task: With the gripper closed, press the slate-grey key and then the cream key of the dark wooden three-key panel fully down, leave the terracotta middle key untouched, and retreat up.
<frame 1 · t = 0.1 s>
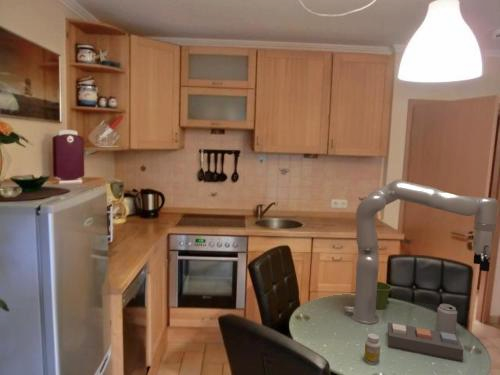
hand: (480, 267, 146), 31 cm above the table, fingers open, 9 cm apart
slate key: (448, 340, 137), point 5 cm above the table, slide at 0.0 cm
key panel: (422, 346, 141), on the table
supplement bottle: (371, 361, 131), on the table
cream key: (398, 331, 144), point 5 cm above the table, slide at 0.0 cm
terracotta key: (423, 336, 140), point 5 cm above the table, slide at 0.0 cm
plant pot: (378, 307, 178), on the table
can: (445, 332, 153), on the table
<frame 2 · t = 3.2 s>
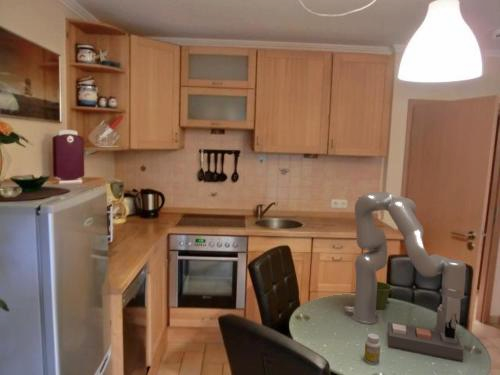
hand: (449, 336, 137), 6 cm above the table, fingers closed
slate key: (448, 341, 137), point 4 cm above the table, slide at 0.1 cm, touching gripper
everything else where it was.
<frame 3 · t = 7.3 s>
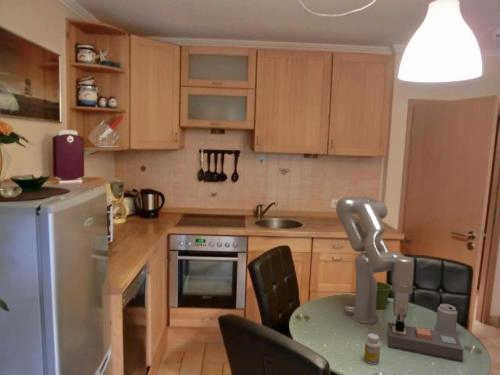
hand: (399, 330, 143), 5 cm above the table, fingers closed
slate key: (448, 344, 137), point 3 cm above the table, slide at 1.4 cm
cream key: (398, 334, 144), point 3 cm above the table, slide at 1.2 cm, touching gripper
everything else where it was.
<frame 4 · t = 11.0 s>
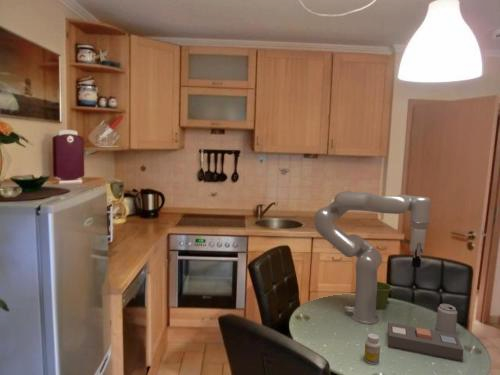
hand: (416, 266, 151), 29 cm above the table, fingers closed
cream key: (398, 335, 144), point 3 cm above the table, slide at 1.4 cm
everything else where it was.
at the end: slate key slide at 1.4 cm; cream key slide at 1.4 cm; terracotta key slide at 0.0 cm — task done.
